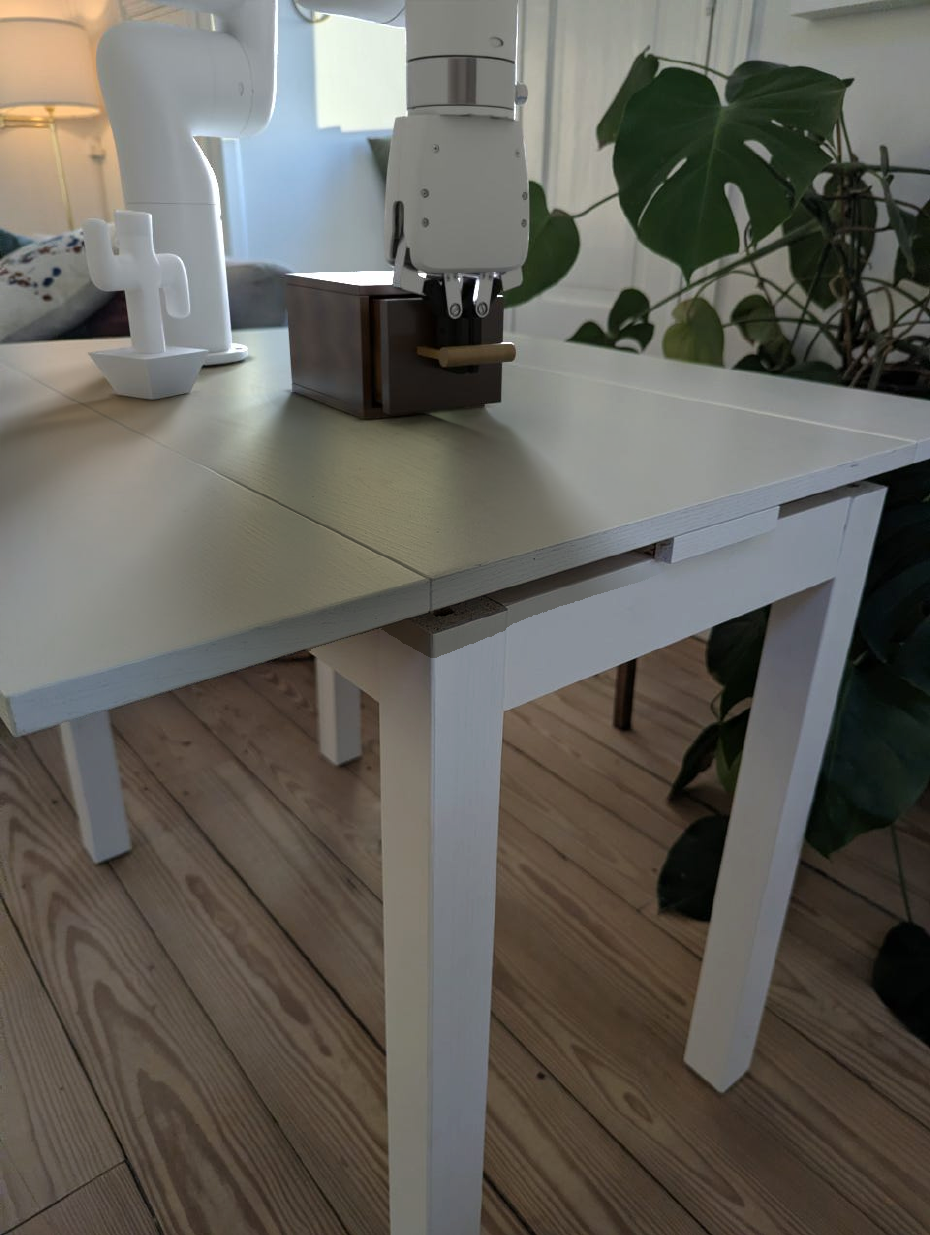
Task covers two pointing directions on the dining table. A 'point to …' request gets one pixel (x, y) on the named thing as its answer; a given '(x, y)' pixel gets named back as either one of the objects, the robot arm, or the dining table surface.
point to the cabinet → (336, 338)
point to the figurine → (141, 308)
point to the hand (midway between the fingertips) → (458, 370)
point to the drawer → (431, 358)
